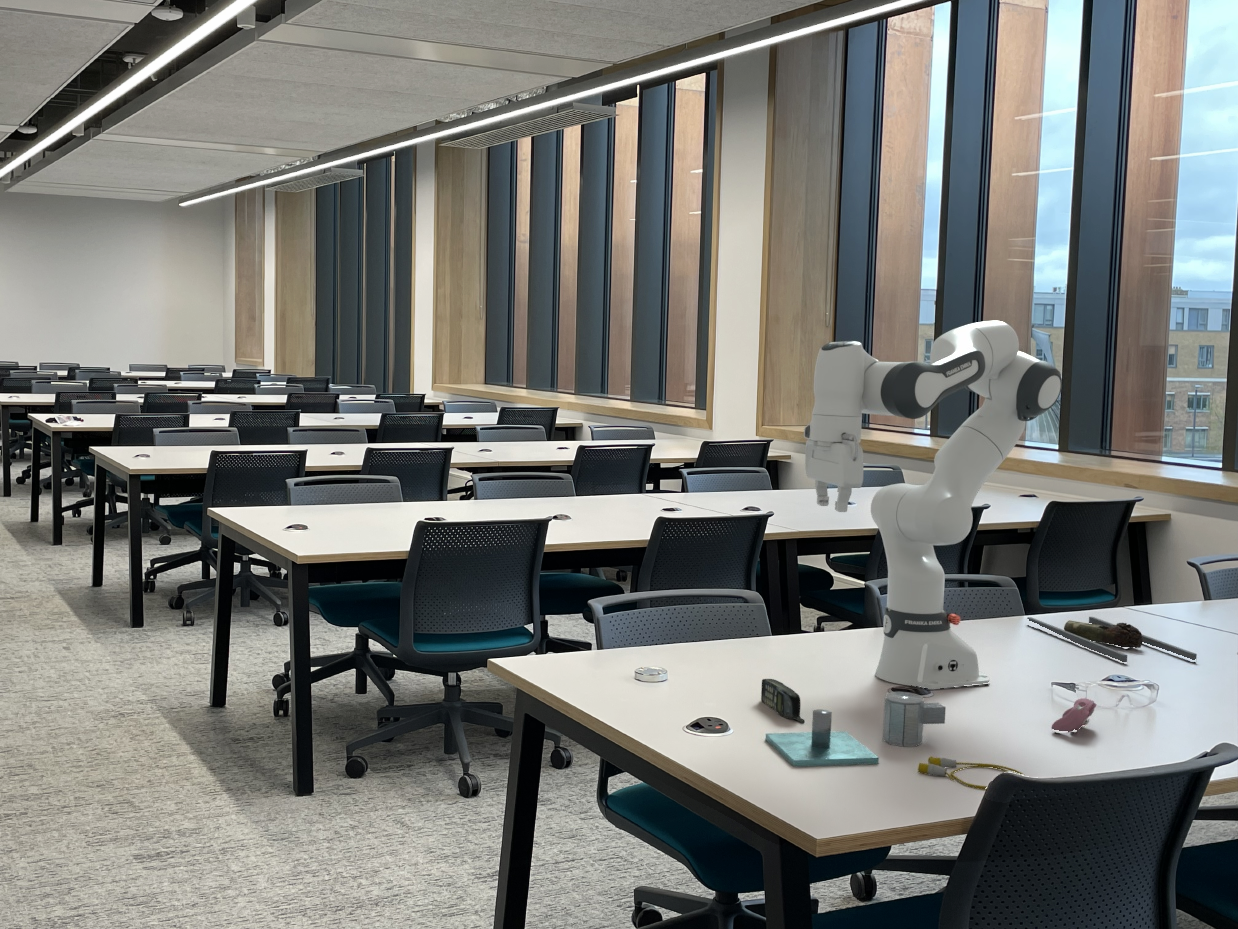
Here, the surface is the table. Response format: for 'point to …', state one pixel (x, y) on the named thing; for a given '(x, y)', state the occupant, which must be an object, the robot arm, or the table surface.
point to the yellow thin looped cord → (938, 766)
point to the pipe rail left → (1083, 641)
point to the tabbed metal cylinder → (908, 718)
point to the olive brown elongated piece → (1107, 633)
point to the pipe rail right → (1150, 640)
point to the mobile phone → (781, 699)
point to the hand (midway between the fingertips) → (831, 508)
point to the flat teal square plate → (821, 745)
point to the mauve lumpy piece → (1075, 716)
